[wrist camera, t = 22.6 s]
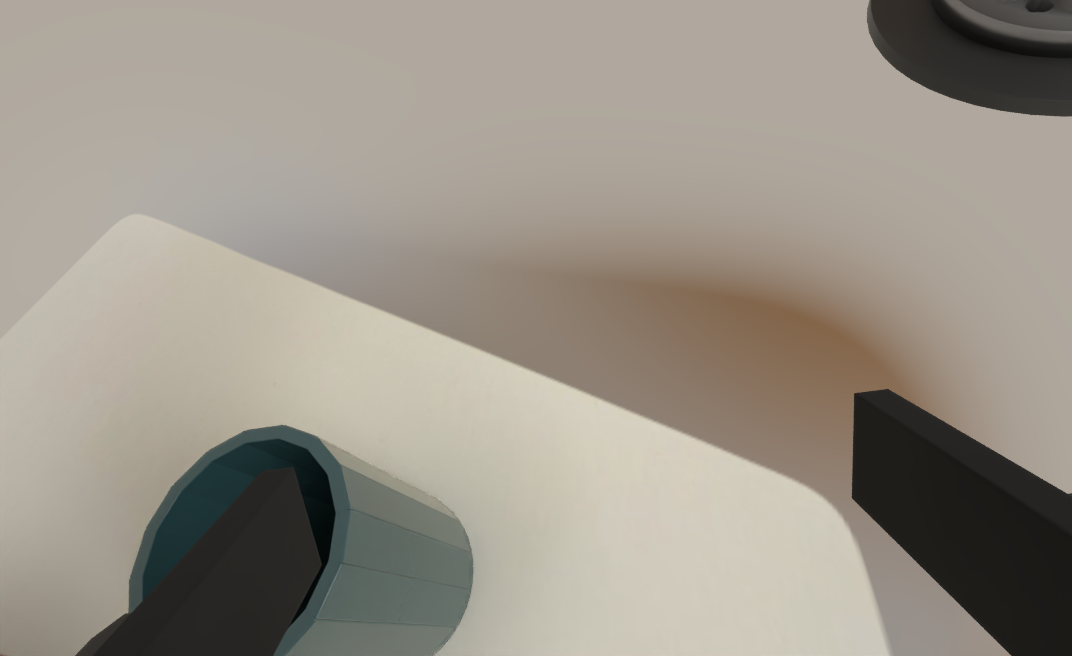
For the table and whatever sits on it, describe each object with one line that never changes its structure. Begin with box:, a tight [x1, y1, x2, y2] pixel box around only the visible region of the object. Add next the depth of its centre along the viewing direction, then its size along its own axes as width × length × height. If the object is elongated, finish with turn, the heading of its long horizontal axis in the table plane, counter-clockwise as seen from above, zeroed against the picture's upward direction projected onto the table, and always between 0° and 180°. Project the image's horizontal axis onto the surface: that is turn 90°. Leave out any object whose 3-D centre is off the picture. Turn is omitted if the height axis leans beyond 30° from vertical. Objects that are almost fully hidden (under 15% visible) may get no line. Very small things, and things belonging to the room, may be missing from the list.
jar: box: [128, 425, 473, 656], centre depth 25 cm, size 9×9×12 cm
